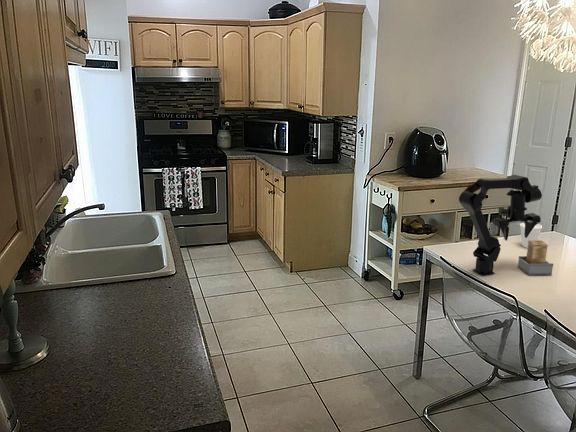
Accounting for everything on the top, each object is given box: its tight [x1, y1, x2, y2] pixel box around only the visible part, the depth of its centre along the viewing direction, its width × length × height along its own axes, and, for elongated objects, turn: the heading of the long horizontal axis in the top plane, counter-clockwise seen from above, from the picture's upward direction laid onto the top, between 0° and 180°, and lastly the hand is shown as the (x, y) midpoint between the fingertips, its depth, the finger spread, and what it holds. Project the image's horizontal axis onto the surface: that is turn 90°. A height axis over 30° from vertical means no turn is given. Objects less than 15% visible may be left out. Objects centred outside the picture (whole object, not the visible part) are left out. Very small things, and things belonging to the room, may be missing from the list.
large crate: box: [517, 255, 554, 277], centre depth 207 cm, size 10×10×5 cm
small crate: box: [526, 240, 549, 264], centre depth 206 cm, size 6×6×12 cm
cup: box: [519, 222, 543, 249], centre depth 237 cm, size 10×10×11 cm
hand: (515, 238), depth 209 cm, fingers open, 9 cm apart
